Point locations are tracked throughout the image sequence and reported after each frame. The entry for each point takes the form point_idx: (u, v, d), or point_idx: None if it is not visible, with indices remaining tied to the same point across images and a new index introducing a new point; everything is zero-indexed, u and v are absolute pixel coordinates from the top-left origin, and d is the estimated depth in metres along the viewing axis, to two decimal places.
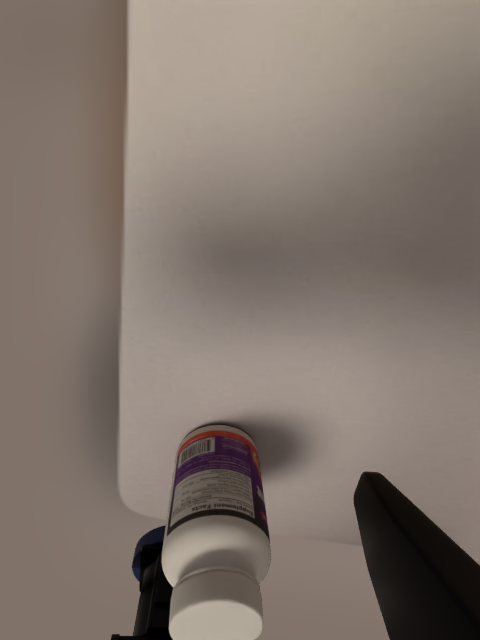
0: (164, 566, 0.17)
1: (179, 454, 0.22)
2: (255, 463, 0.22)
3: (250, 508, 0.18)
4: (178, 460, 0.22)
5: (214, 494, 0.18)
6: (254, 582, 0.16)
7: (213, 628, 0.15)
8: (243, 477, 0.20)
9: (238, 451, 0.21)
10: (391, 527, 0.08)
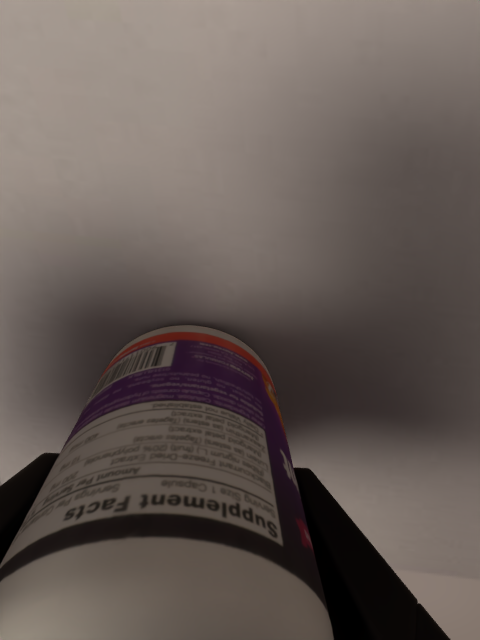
0: None
1: (96, 385, 0.10)
2: (273, 403, 0.09)
3: (268, 510, 0.06)
4: (90, 397, 0.09)
5: (149, 466, 0.05)
6: None
7: None
8: (245, 424, 0.07)
9: (231, 370, 0.09)
10: (308, 523, 0.07)
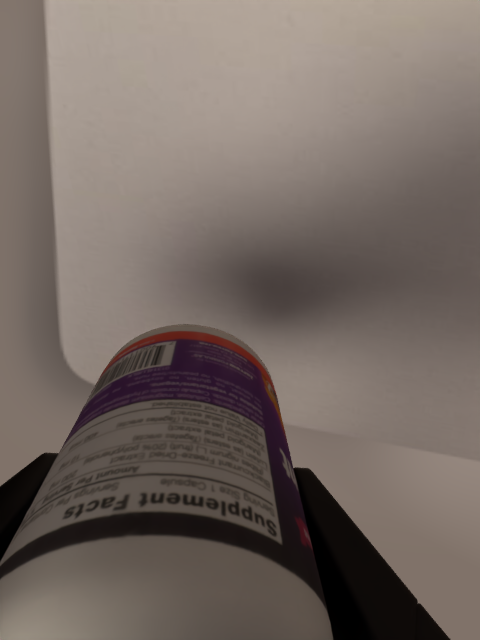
0: None
1: (96, 385, 0.10)
2: (272, 402, 0.09)
3: (267, 509, 0.06)
4: (89, 396, 0.09)
5: (149, 465, 0.05)
6: None
7: None
8: (245, 423, 0.07)
9: (231, 369, 0.09)
10: (308, 524, 0.07)
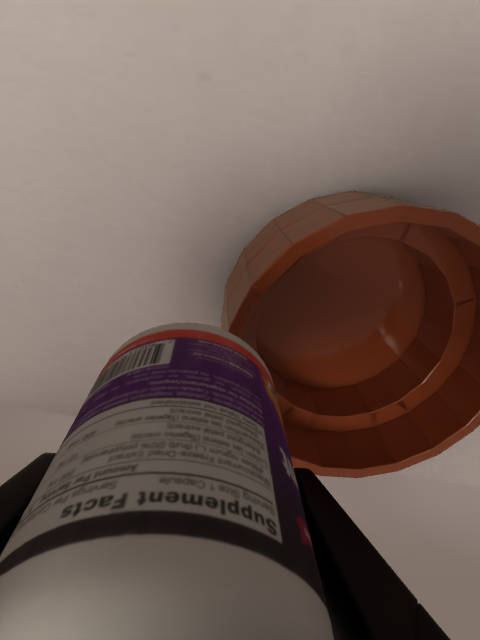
0: None
1: None
2: (272, 401, 0.09)
3: (268, 507, 0.05)
4: None
5: (148, 464, 0.05)
6: None
7: None
8: (244, 421, 0.07)
9: (231, 367, 0.08)
10: (308, 524, 0.07)
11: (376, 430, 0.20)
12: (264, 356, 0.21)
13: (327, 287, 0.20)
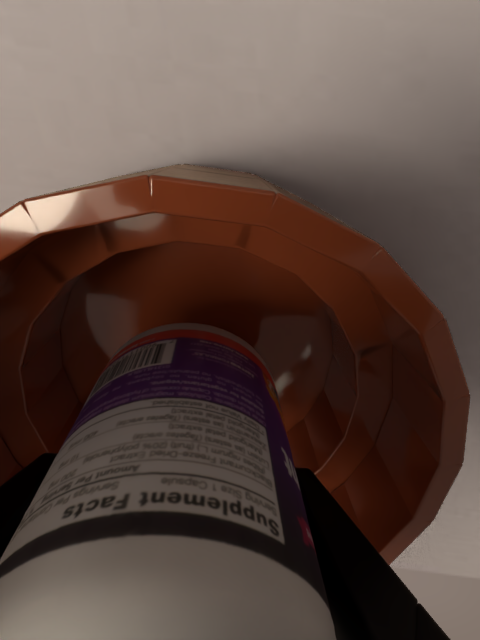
0: None
1: None
2: (273, 401, 0.09)
3: (269, 507, 0.05)
4: None
5: (150, 463, 0.05)
6: None
7: None
8: (246, 422, 0.07)
9: (232, 368, 0.08)
10: None
11: None
12: None
13: (172, 318, 0.13)
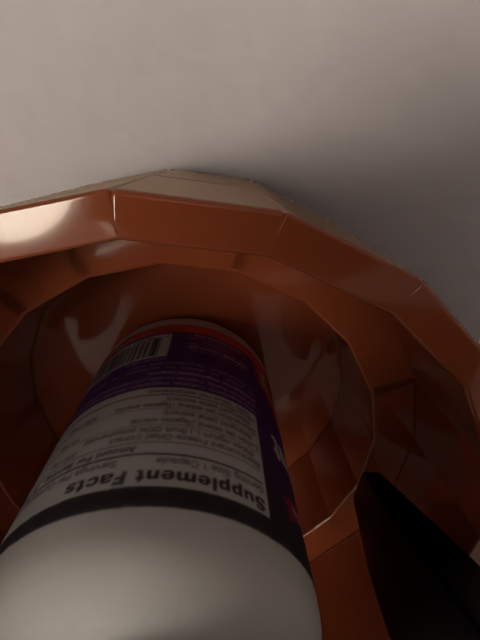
0: None
1: (95, 376, 0.10)
2: (265, 392, 0.09)
3: (257, 486, 0.06)
4: None
5: (145, 445, 0.06)
6: None
7: None
8: (237, 409, 0.07)
9: (225, 360, 0.09)
10: (391, 527, 0.08)
11: None
12: None
13: None
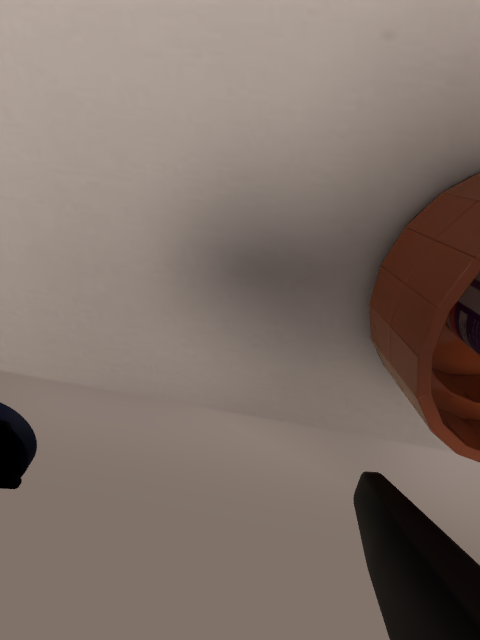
0: None
1: None
2: None
3: None
4: (479, 282, 0.17)
5: None
6: None
7: None
8: None
9: None
10: (391, 527, 0.08)
11: None
12: None
13: None
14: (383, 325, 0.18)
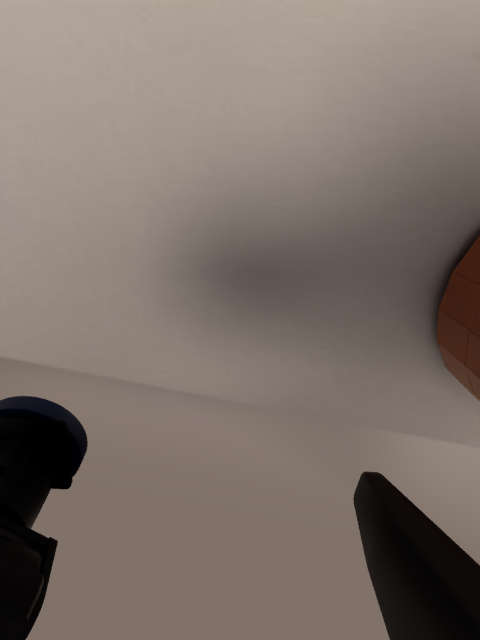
0: None
1: None
2: None
3: None
4: None
5: None
6: None
7: None
8: None
9: None
10: (391, 527, 0.08)
11: None
12: None
13: None
14: (457, 329, 0.18)
